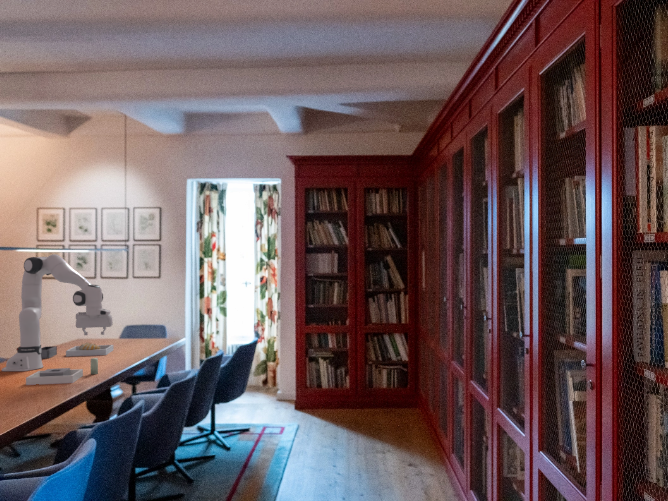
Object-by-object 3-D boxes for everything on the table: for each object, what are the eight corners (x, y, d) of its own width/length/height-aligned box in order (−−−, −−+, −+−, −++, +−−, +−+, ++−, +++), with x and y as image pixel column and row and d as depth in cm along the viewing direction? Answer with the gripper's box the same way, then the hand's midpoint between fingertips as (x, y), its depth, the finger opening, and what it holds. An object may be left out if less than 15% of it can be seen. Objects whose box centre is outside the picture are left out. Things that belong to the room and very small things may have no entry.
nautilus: (81, 351, 394) (103, 351, 398) (75, 354, 374) (98, 354, 377) (82, 341, 395) (103, 341, 399) (76, 343, 374) (99, 343, 378)
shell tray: (65, 356, 374) (65, 350, 374) (75, 351, 394) (75, 346, 395) (106, 355, 378) (106, 349, 378) (113, 350, 399) (113, 344, 399)
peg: (89, 374, 313) (89, 359, 313) (91, 373, 317) (91, 358, 317) (96, 374, 314) (96, 359, 314) (98, 372, 317) (98, 357, 318)
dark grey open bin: (36, 358, 365) (36, 350, 366) (44, 354, 381) (44, 346, 381) (48, 358, 367) (48, 349, 367) (56, 354, 383) (56, 346, 383)
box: (25, 385, 288) (25, 374, 288) (38, 377, 305) (38, 368, 306) (72, 382, 292) (72, 372, 292) (82, 375, 309) (82, 366, 310)
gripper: (73, 312, 311) (74, 336, 311) (110, 311, 314) (110, 335, 314) (77, 311, 317) (77, 334, 317) (113, 310, 321) (113, 333, 320)
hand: (94, 334), depth 316 cm, fingers open, 8 cm apart
